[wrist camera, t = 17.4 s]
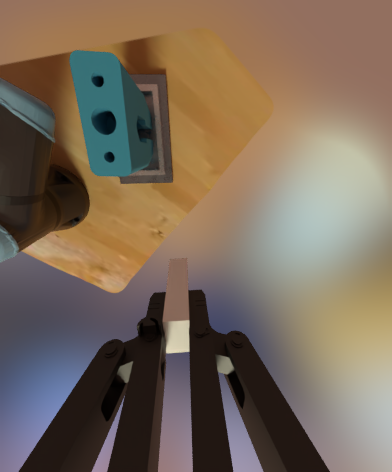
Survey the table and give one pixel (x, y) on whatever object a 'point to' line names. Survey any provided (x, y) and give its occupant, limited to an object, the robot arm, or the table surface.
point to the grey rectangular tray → (154, 131)
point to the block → (111, 114)
